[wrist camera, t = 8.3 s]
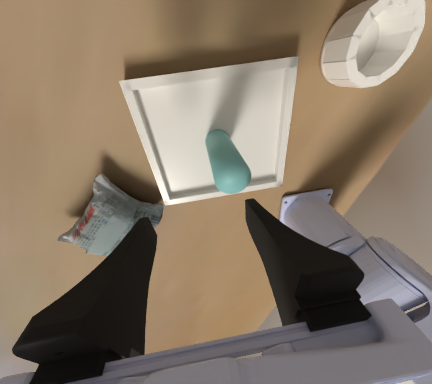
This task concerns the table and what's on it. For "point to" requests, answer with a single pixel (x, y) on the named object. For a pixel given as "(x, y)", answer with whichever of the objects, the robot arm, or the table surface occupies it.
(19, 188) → the table surface
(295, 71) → the tray
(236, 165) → the dowel
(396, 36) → the bowl
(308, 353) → the robot arm
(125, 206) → the packaged food
